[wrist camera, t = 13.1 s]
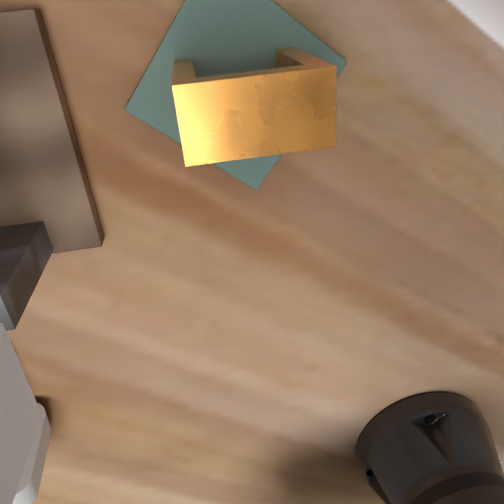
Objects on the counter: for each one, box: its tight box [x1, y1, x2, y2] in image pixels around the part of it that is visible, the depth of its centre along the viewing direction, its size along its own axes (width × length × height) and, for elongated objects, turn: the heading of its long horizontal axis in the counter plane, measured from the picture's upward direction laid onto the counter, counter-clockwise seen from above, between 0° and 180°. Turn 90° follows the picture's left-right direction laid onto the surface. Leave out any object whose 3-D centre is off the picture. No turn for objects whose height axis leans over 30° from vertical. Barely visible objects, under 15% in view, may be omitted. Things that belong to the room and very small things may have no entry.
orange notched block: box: [172, 47, 336, 167], centre depth 27 cm, size 4×8×10 cm, turn 95°
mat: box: [125, 0, 347, 190], centre depth 32 cm, size 11×11×1 cm
